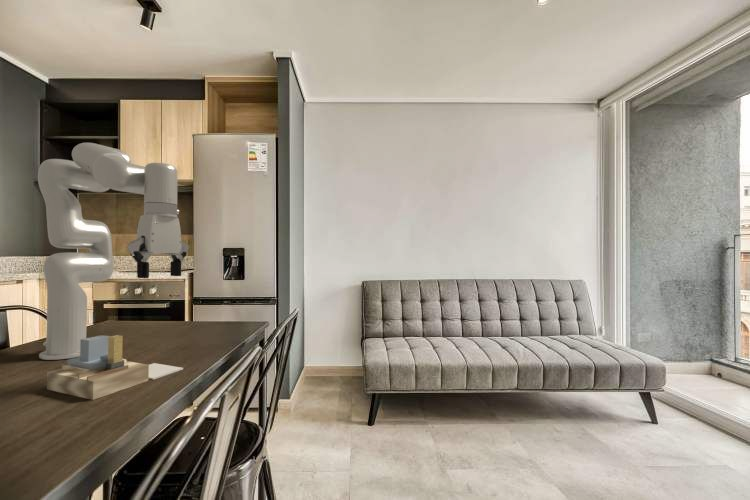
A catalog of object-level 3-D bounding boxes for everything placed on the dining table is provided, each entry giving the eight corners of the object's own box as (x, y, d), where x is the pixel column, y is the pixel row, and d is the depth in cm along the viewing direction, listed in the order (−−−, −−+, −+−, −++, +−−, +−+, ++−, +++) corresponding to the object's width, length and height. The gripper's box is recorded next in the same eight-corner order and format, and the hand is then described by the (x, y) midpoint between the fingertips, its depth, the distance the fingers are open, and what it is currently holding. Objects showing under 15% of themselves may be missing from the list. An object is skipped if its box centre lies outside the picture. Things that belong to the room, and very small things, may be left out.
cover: (67, 368, 88) (67, 339, 88) (97, 360, 95) (98, 333, 95) (92, 373, 85) (92, 342, 85) (122, 364, 92) (122, 336, 92)
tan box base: (46, 389, 85) (47, 367, 85) (104, 372, 97) (105, 353, 97) (93, 399, 80) (93, 376, 80) (148, 380, 92) (148, 360, 92)
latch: (97, 369, 87) (98, 336, 87) (110, 365, 90) (111, 333, 90) (111, 371, 86) (112, 338, 86) (124, 367, 88) (124, 335, 89)
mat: (123, 374, 96) (123, 372, 96) (154, 364, 105) (154, 363, 105) (153, 379, 93) (153, 378, 93) (183, 369, 101) (183, 367, 101)
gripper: (177, 215, 105) (176, 275, 105) (117, 208, 89) (117, 278, 89) (198, 214, 103) (197, 275, 103) (140, 206, 87) (139, 279, 86)
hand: (160, 276), depth 96 cm, fingers open, 9 cm apart
